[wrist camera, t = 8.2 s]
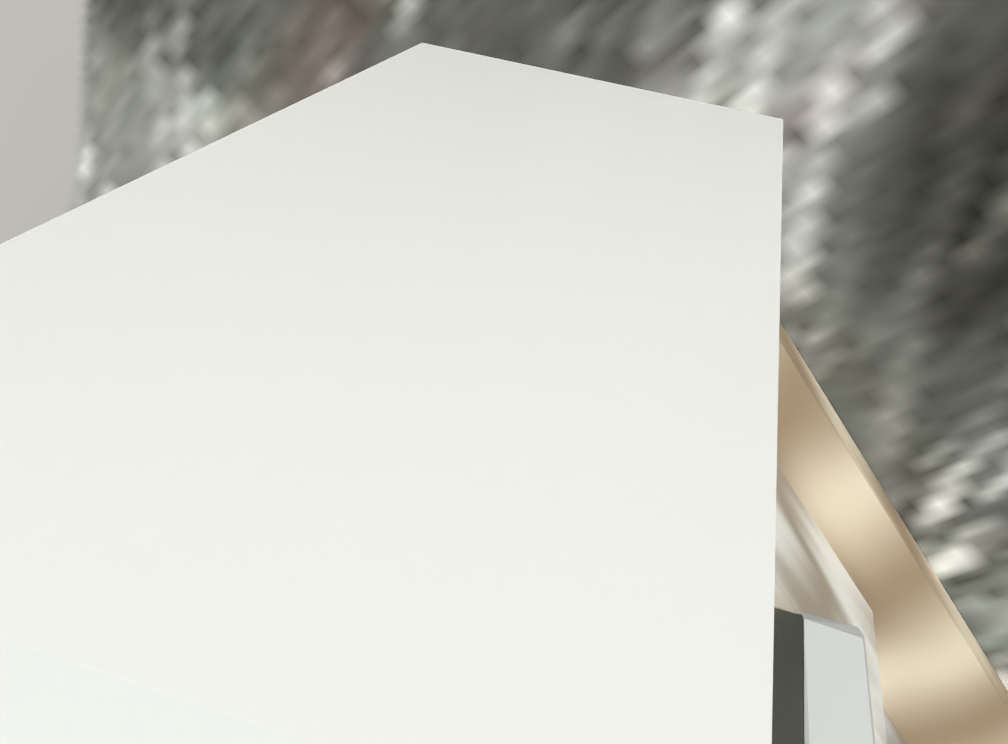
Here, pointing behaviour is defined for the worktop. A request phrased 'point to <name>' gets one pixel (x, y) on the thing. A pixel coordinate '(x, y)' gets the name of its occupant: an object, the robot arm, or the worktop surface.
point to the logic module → (402, 426)
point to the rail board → (872, 578)
